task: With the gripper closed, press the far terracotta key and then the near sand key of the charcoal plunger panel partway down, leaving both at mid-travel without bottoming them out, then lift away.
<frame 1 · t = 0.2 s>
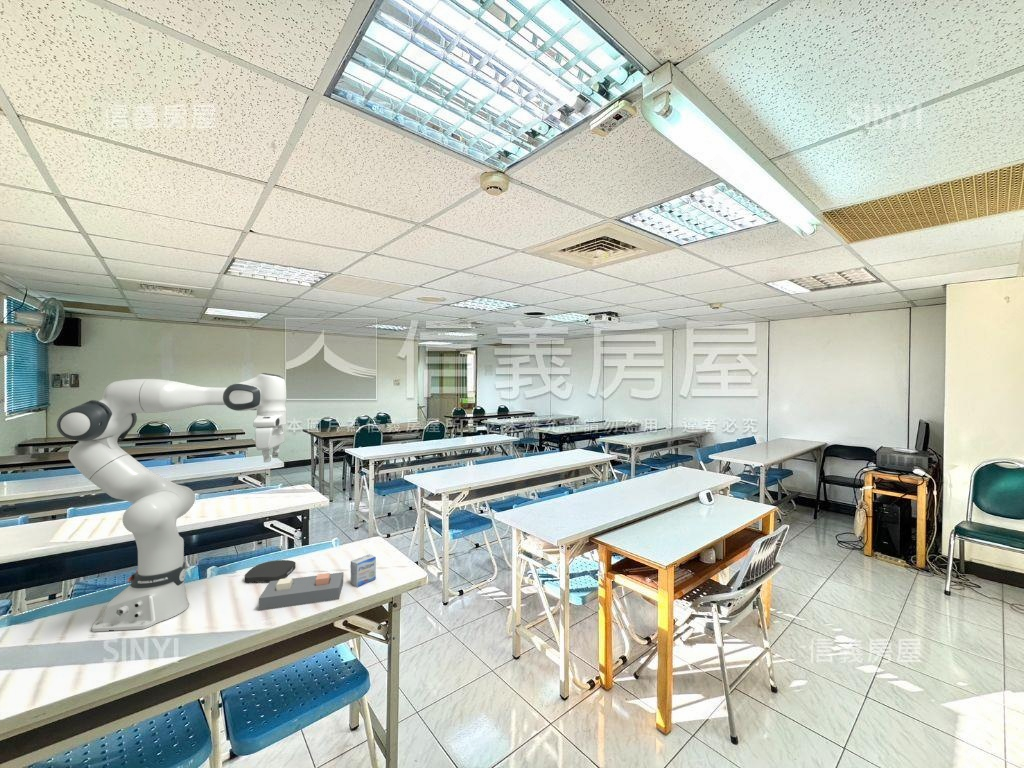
hand: (271, 459, 136), 47 cm above the table, fingers open, 8 cm apart
sand key: (284, 585, 135), point 4 cm above the table, slide at 0.0 cm
key panel: (303, 595, 136), on the table
medicine box: (363, 582, 147), on the table
media streaming box: (270, 575, 153), on the table
terracotta key: (322, 580, 138), point 4 cm above the table, slide at 0.0 cm
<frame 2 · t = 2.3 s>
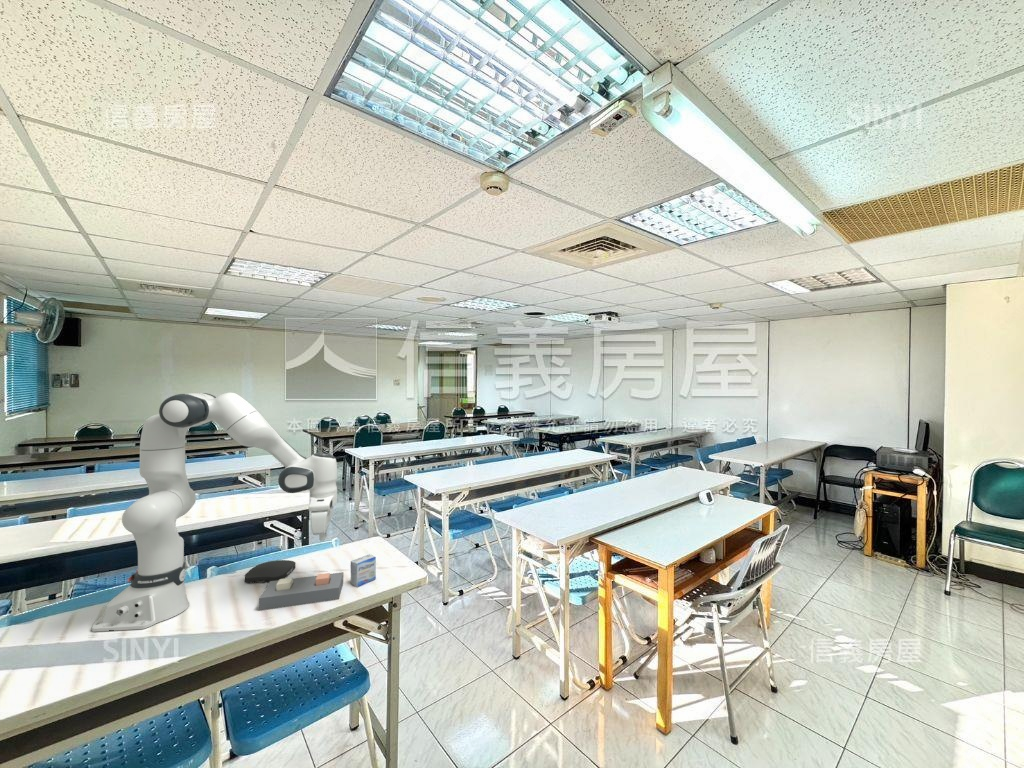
hand: (323, 538, 138), 19 cm above the table, fingers closed
nothing on the table moved.
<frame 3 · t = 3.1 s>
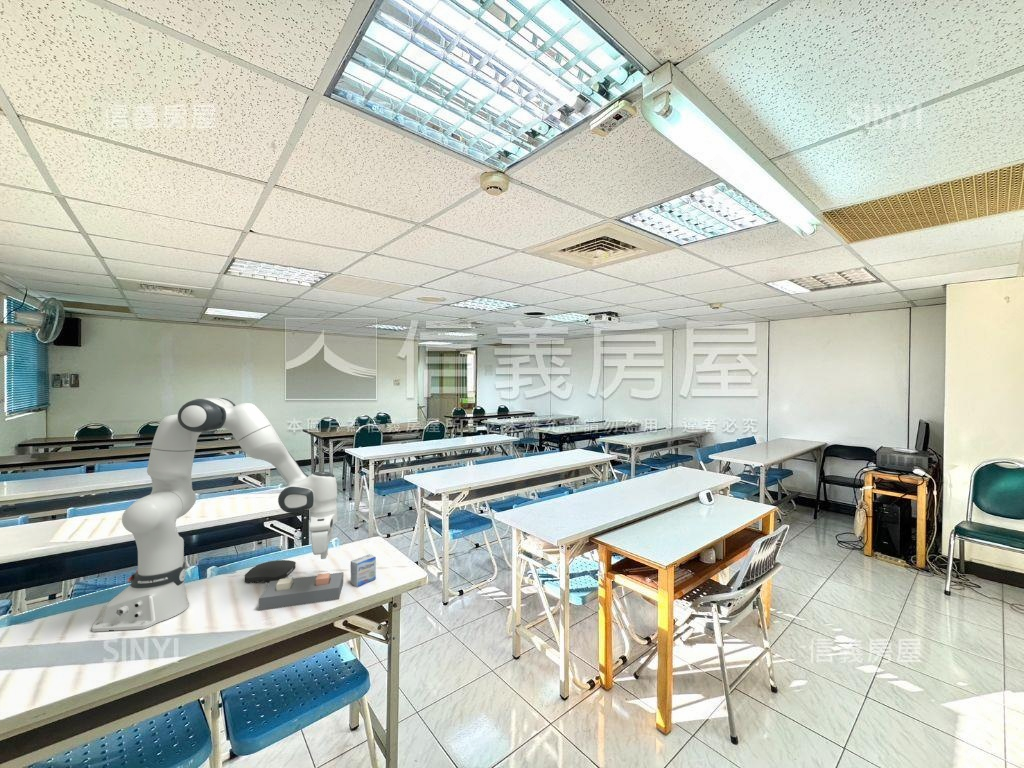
hand: (324, 557, 138), 13 cm above the table, fingers closed
nothing on the table moved.
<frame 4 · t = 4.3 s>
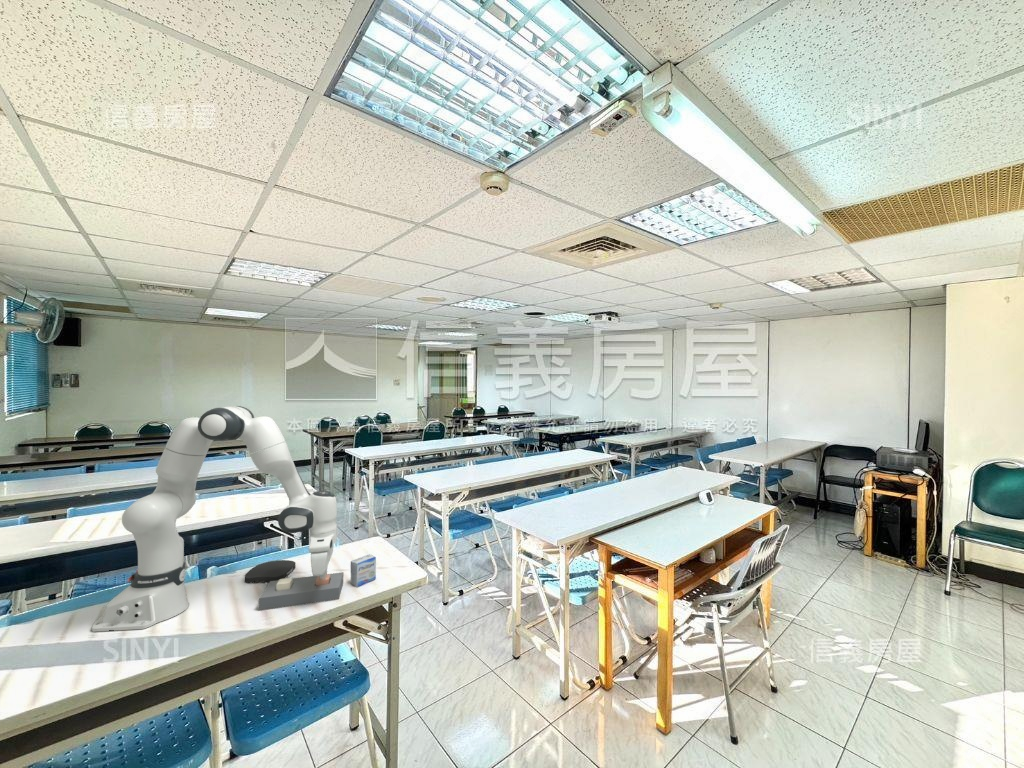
hand: (323, 577, 138), 6 cm above the table, fingers closed, pressing on terracotta key
terracotta key: (322, 581, 138), point 4 cm above the table, slide at 0.5 cm, touching gripper
everything else where it was.
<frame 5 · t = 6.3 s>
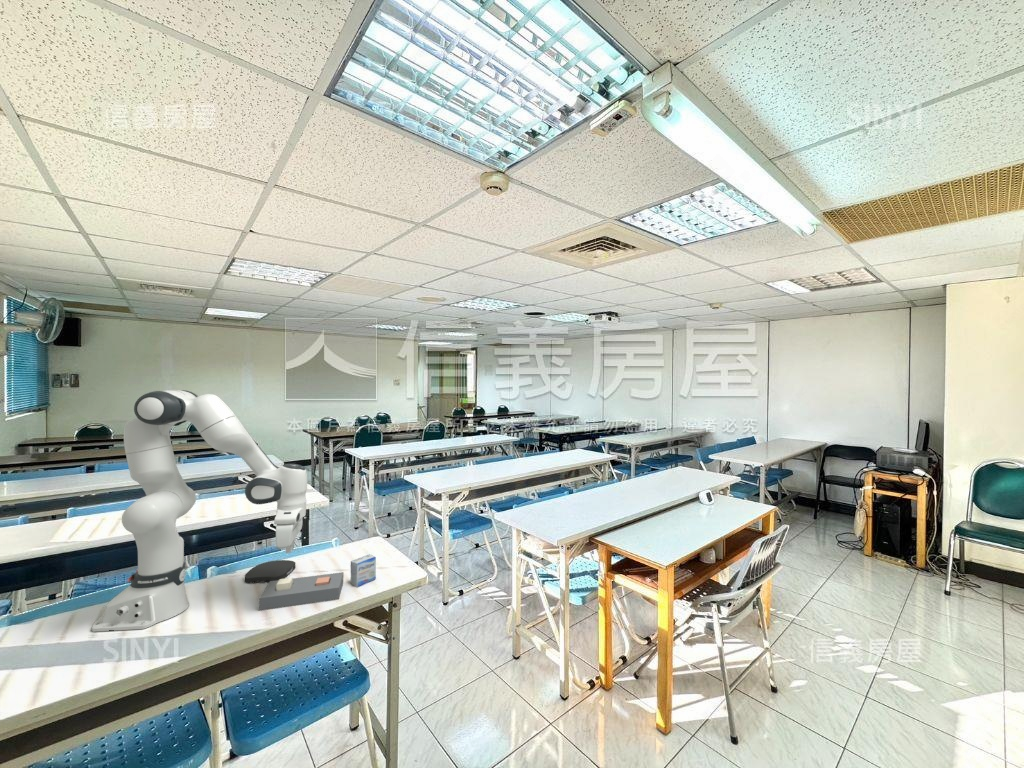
hand: (289, 551, 135), 16 cm above the table, fingers closed
terracotta key: (322, 584, 138), point 3 cm above the table, slide at 1.3 cm
everything else where it was.
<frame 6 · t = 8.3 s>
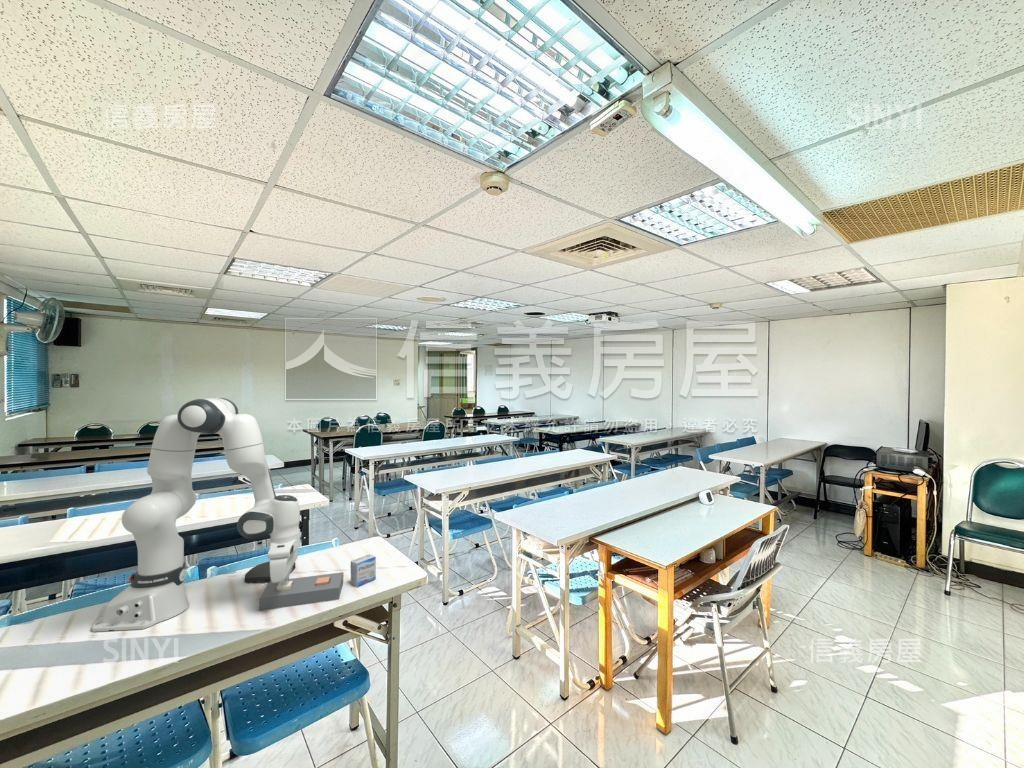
hand: (285, 583, 135), 5 cm above the table, fingers closed, pressing on sand key
sand key: (284, 588, 135), point 3 cm above the table, slide at 1.1 cm, touching gripper
everything else where it was.
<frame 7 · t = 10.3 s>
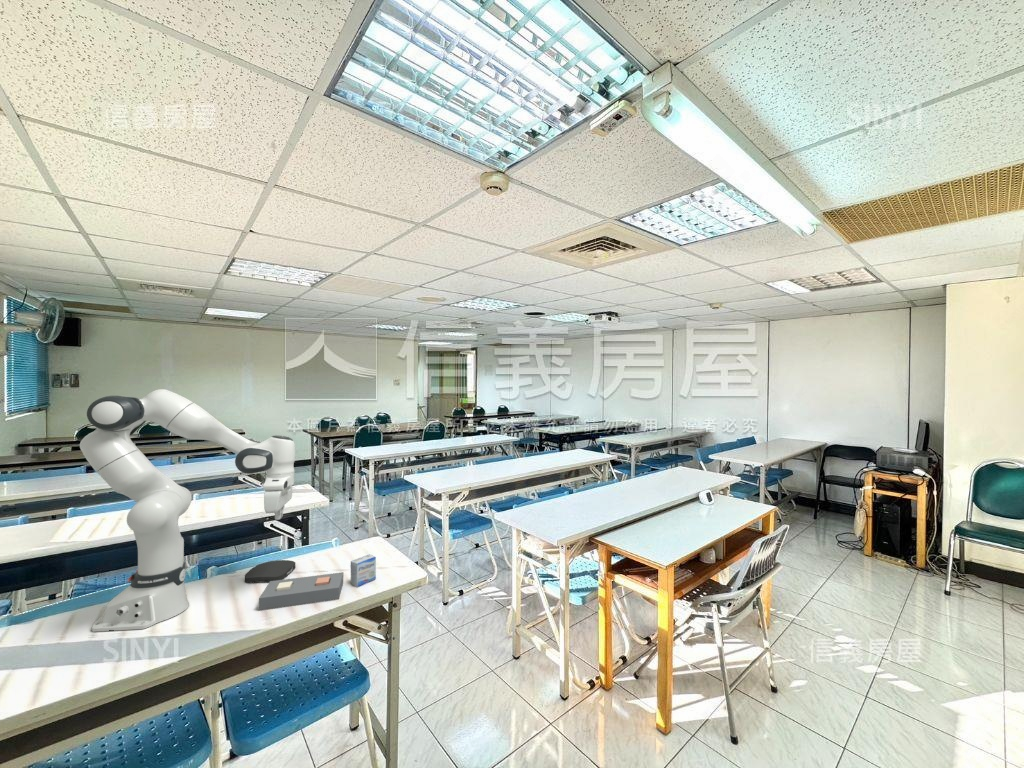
hand: (278, 518, 143), 25 cm above the table, fingers closed
sand key: (284, 589, 135), point 3 cm above the table, slide at 1.3 cm
everything else where it was.
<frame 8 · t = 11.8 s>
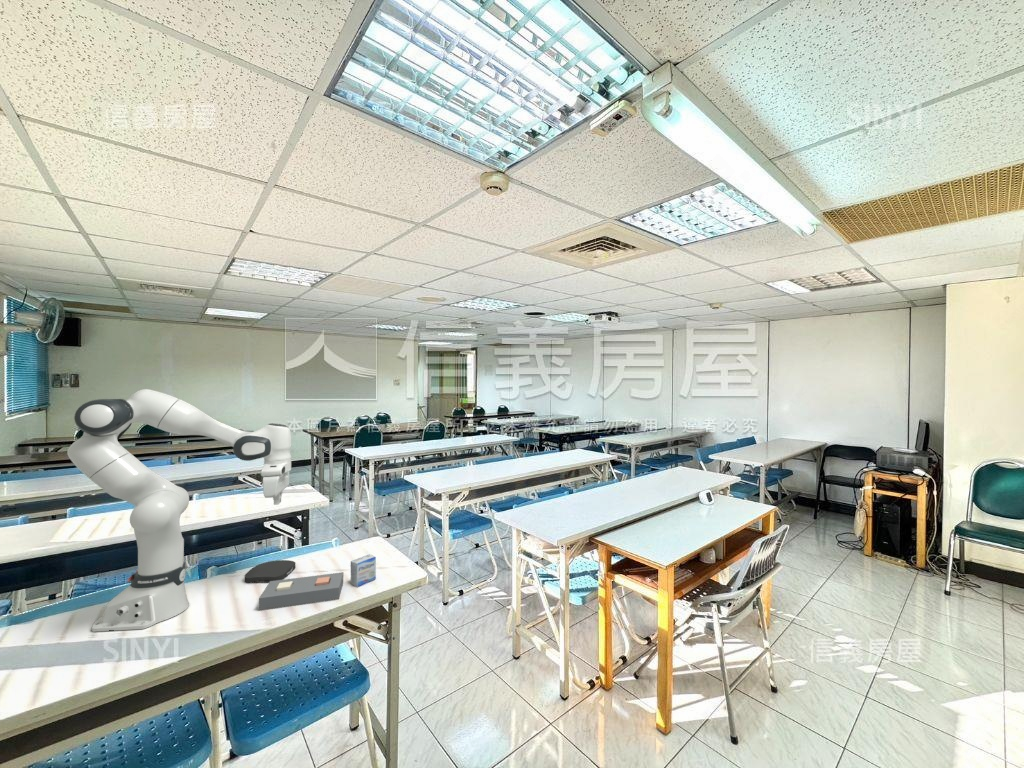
hand: (277, 503, 147), 29 cm above the table, fingers closed
nothing on the table moved.
at the end: terracotta key slide at 1.3 cm; sand key slide at 1.3 cm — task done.
